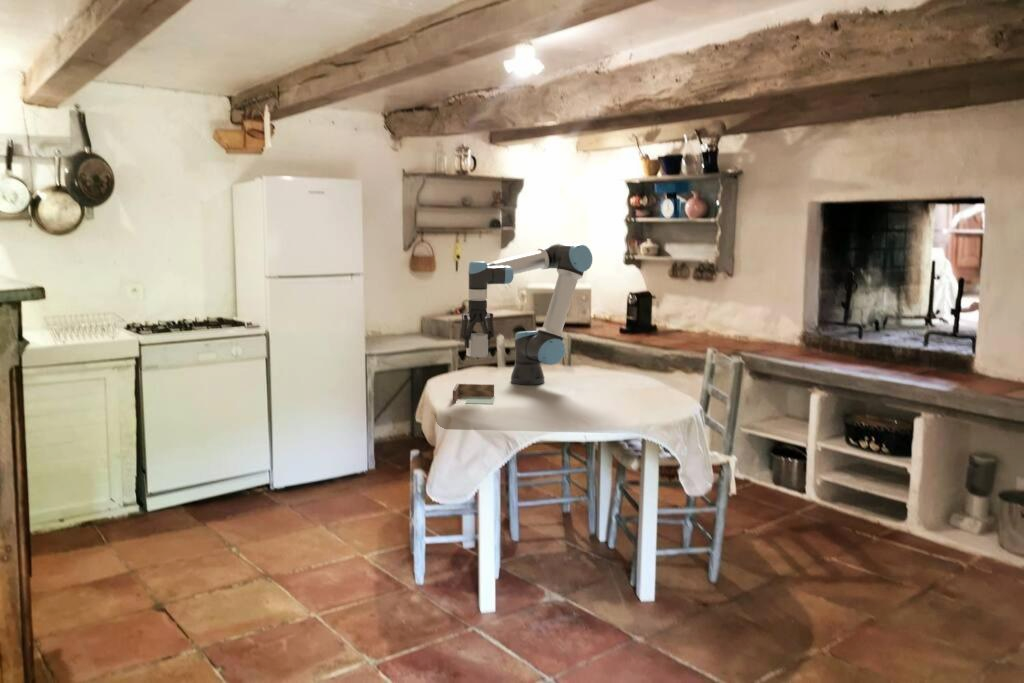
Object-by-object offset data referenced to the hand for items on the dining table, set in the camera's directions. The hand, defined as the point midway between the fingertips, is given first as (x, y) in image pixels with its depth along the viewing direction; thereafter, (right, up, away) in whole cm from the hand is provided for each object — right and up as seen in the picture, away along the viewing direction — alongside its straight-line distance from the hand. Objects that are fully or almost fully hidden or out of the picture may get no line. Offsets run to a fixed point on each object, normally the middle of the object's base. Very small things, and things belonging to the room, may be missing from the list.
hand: (477, 355), depth 326 cm
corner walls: (-1, -18, -3) cm, 18 cm away
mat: (+1, -18, -5) cm, 19 cm away
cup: (-1, -1, 0) cm, 1 cm away
